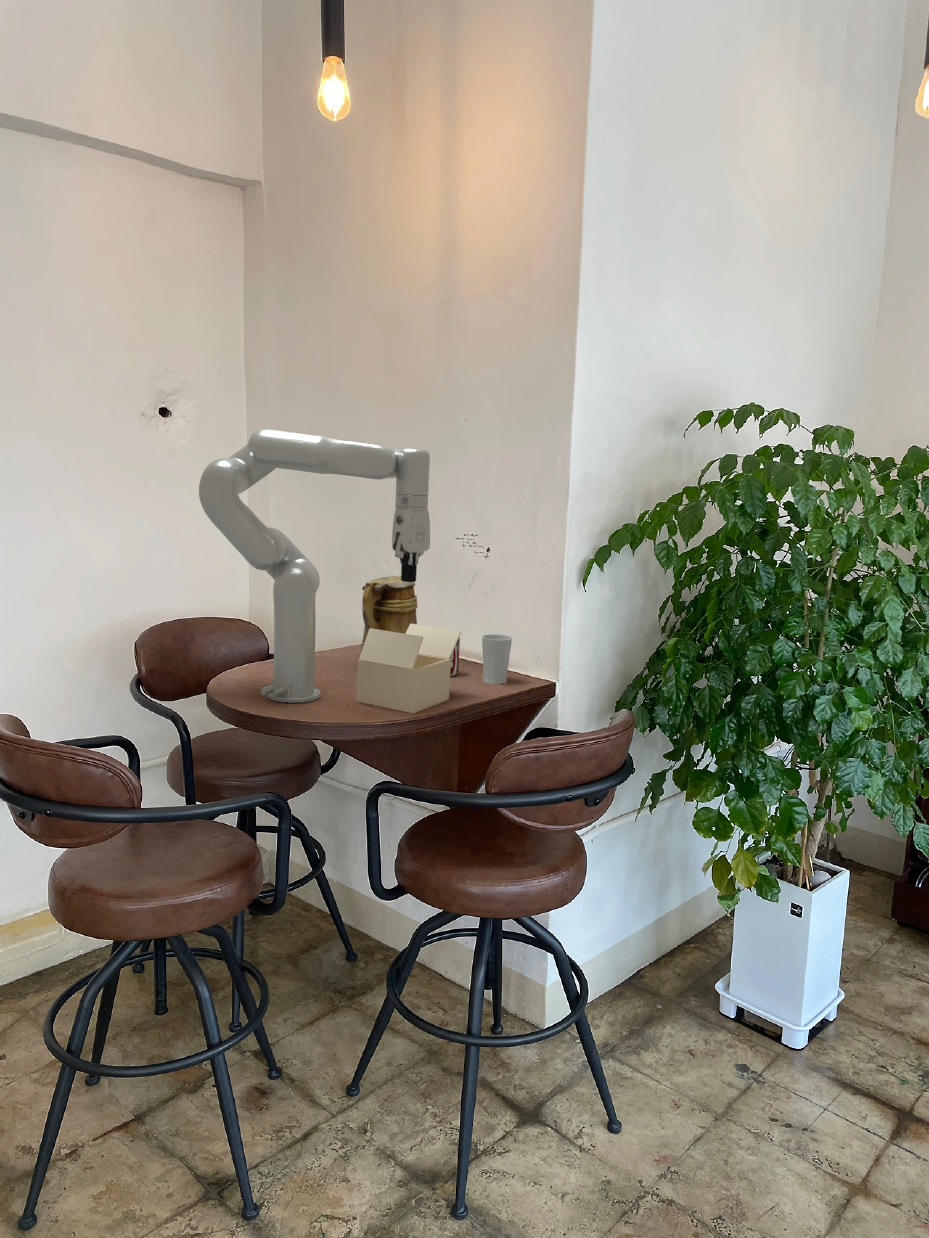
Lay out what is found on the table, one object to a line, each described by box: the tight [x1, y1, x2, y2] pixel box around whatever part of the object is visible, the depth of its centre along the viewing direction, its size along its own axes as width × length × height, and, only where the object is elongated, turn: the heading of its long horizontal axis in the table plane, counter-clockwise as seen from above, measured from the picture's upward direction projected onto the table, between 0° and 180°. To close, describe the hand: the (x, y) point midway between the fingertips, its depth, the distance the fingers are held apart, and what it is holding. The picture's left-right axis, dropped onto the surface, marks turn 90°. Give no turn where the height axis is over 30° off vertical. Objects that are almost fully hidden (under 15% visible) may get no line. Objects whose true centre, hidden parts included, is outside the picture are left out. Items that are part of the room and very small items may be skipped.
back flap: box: [405, 623, 462, 659], centre depth 222 cm, size 8×15×1 cm
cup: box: [481, 633, 513, 685], centre depth 238 cm, size 8×8×12 cm
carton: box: [356, 654, 451, 714], centre depth 214 cm, size 16×16×10 cm
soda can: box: [450, 636, 461, 677], centre depth 243 cm, size 7×7×12 cm
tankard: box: [356, 575, 418, 665], centre depth 247 cm, size 18×24×25 cm
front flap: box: [359, 628, 423, 670], centre depth 208 cm, size 8×15×1 cm
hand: (408, 581), depth 211 cm, fingers closed
